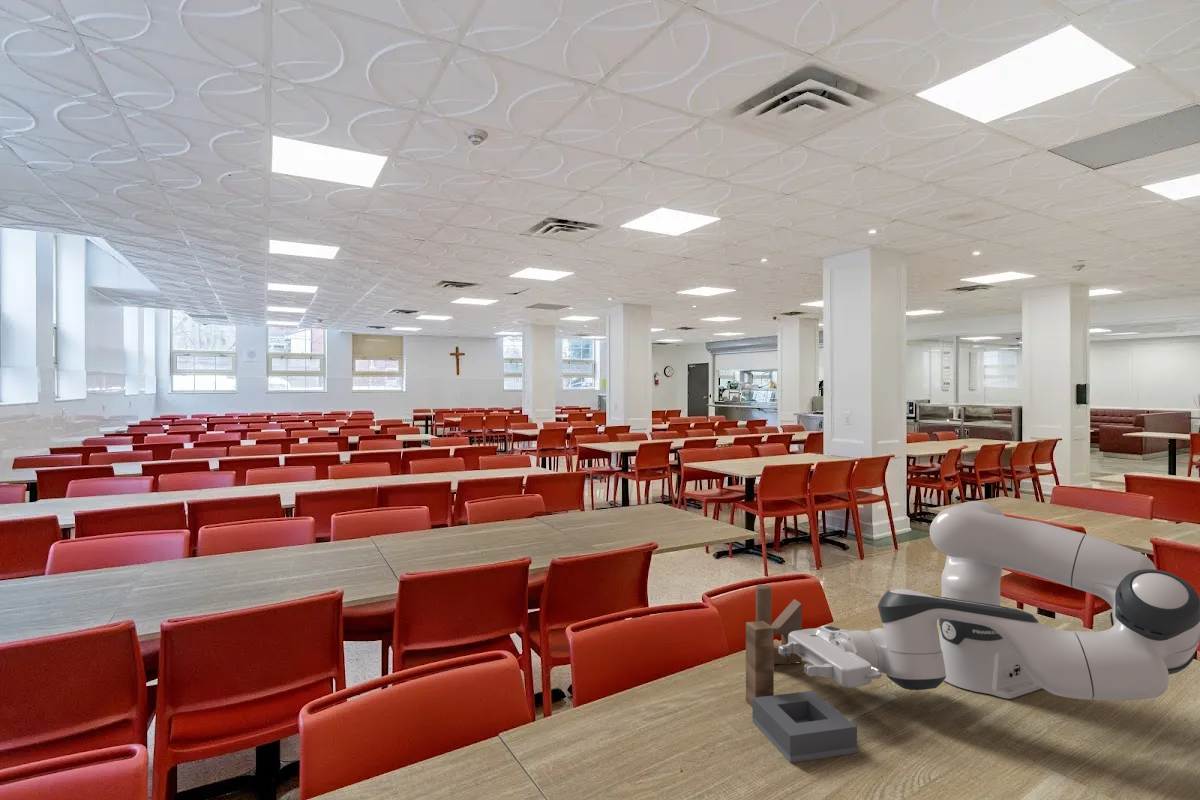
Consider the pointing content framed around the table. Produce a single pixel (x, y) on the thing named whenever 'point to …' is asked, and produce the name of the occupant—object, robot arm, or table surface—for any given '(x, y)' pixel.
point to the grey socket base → (804, 726)
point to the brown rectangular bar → (759, 660)
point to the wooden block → (779, 621)
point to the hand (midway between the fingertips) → (792, 660)
